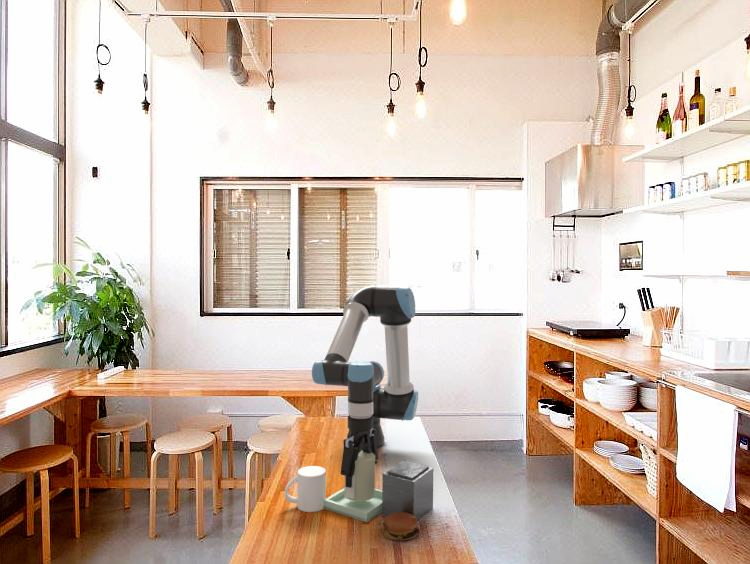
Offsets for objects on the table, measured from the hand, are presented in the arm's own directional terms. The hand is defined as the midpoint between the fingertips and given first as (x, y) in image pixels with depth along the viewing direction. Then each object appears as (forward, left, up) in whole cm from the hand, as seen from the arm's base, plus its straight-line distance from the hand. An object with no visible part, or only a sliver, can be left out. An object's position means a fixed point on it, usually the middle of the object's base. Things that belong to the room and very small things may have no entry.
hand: (359, 491), depth 152 cm
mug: (+9, -13, -4) cm, 17 cm away
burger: (+7, +18, -5) cm, 20 cm away
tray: (0, 0, -4) cm, 4 cm away
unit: (-4, +14, -4) cm, 15 cm away
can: (0, 0, -1) cm, 1 cm away
